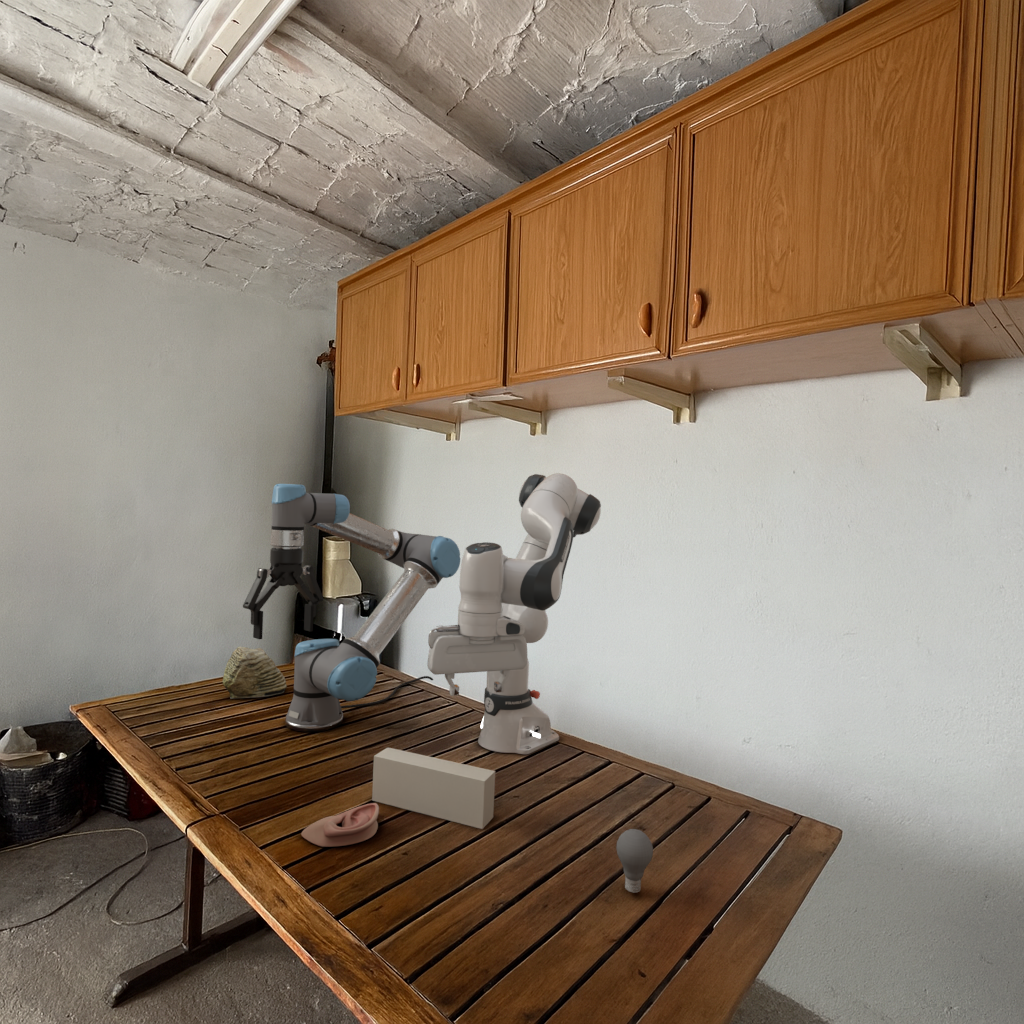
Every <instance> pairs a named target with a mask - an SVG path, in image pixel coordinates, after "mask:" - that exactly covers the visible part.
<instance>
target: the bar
mask: <svg viewBox="0 0 1024 1024" xmlns="http://www.w3.org/2000/svg"><path fill="white" fill-rule="evenodd" d="M372 766H373V768H372V789H371V790H372V794H371V801H373V802H375V803H376V802H377V803H380V804H385V805H387V806H392V807H394V808H395V807H396V808H400V809H403V810H407V811H411V812H415V813H419V814H423V815H426V816H430V817H434V818H438V819H442V820H444V821H445V820H446V821H448V822H449V821H450V822H452V823H453V822H454V823H457V824H461V825H464V826H468V827H472V828H477V829H480V830H483V829H484V828H485V827H486V826H487V825H488V824H489V823H490V822H491V820H492V819H494V812H495V789H496V770H493V769H488V768H483V767H478V766H474V765H470V764H464V763H460V762H457V761H456V762H455V761H451V760H447V759H442V758H437V757H433V756H429V755H424V754H420V753H415V752H411V751H406V750H401V749H397V748H391V747H385V748H384V749H383V750H381V751H379V752H378V753H376V754H375V755H373V765H372Z"/></svg>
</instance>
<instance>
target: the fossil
mask: <svg viewBox="0 0 1024 1024" xmlns="http://www.w3.org/2000/svg"><path fill="white" fill-rule="evenodd" d="M222 676H223V677H222V685H223V687H224V688H225V690H226V691H228V693H229V698H230V699H250V698H264V697H271V696H275V695H281V694H284V693H285V691H286V689H287V687H288V686H287V680H286V678H285V676H284V674H283V673H282V672H281V669H279V668H278V667H277V665H276V663H275V662H274V660H273V659H272V658H271V657H270V656H269V655H268V654H267V653H266V652H265V650H264V649H263V648H260V647H258V648H251V647H247V646H246V647H245V646H238V647H237V648H236V649H235V650H233V651H232V653H231V656H230V657H229V659H228V660H227V663H226V666H225V668H224V671H223V675H222Z"/></svg>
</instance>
